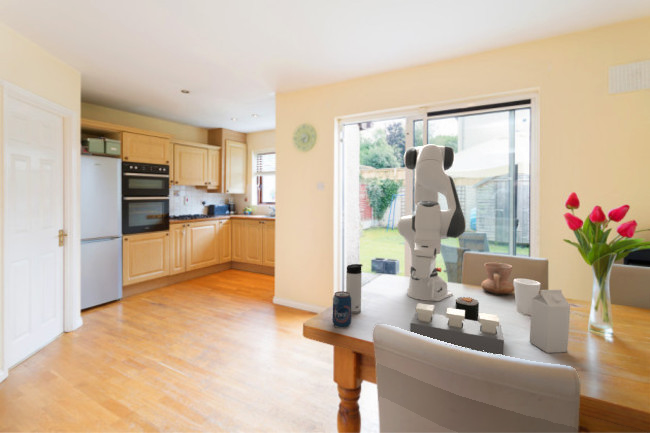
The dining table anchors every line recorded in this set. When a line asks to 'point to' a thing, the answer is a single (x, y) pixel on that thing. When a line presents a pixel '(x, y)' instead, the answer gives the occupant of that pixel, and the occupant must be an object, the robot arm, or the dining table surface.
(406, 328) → the dining table surface
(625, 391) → the dining table surface
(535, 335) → the milk carton
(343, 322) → the soda can
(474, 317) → the sushi
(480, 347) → the block
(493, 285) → the ceramic jug
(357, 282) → the travel mug
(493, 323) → the knob
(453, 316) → the knob middle
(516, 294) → the foam cup
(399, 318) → the dining table surface
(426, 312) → the knob
